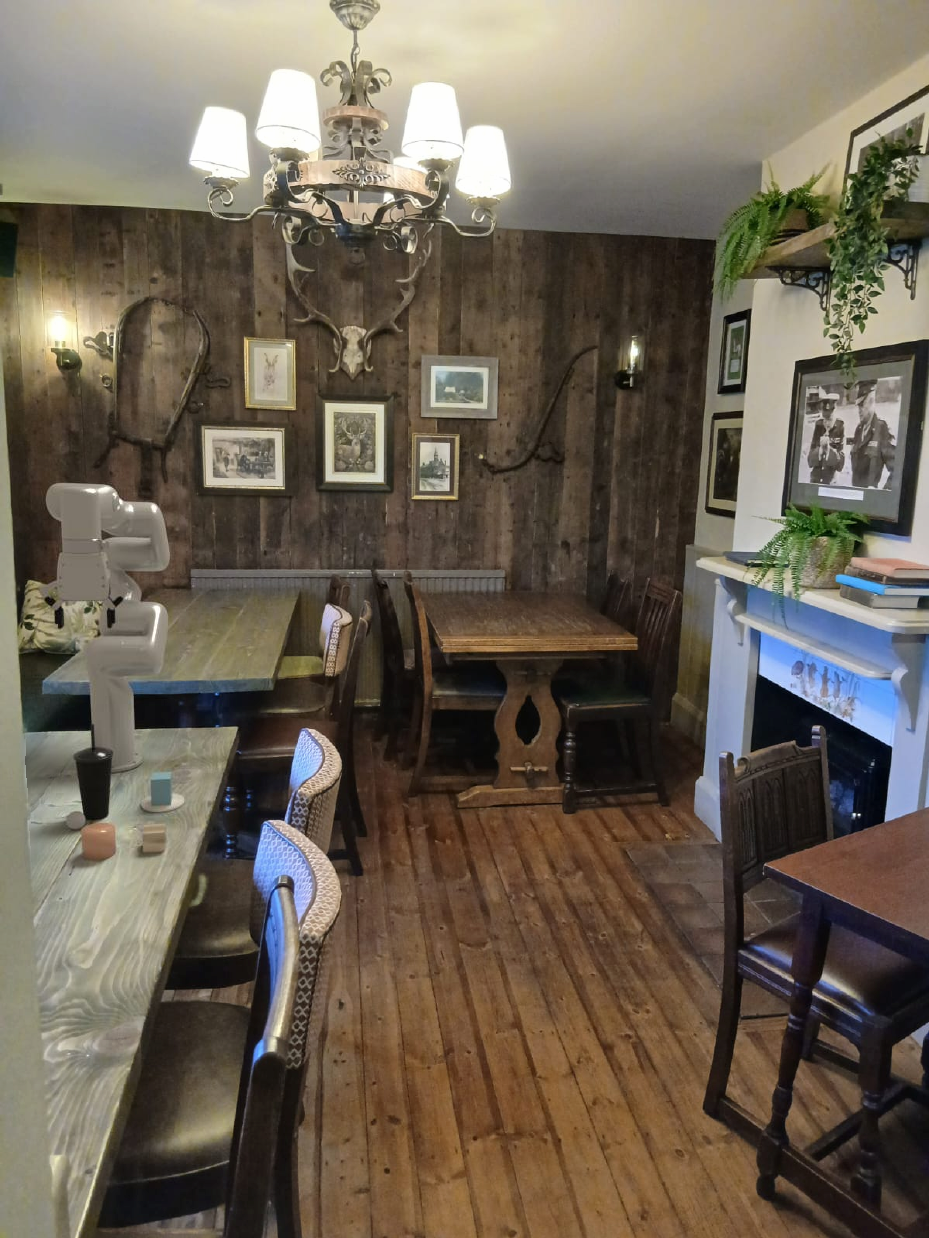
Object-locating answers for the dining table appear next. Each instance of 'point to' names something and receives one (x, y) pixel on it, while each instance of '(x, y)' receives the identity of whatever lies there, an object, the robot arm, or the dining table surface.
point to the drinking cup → (94, 779)
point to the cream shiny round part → (175, 804)
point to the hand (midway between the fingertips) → (85, 627)
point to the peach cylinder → (98, 841)
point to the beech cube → (154, 838)
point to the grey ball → (75, 820)
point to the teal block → (161, 789)
